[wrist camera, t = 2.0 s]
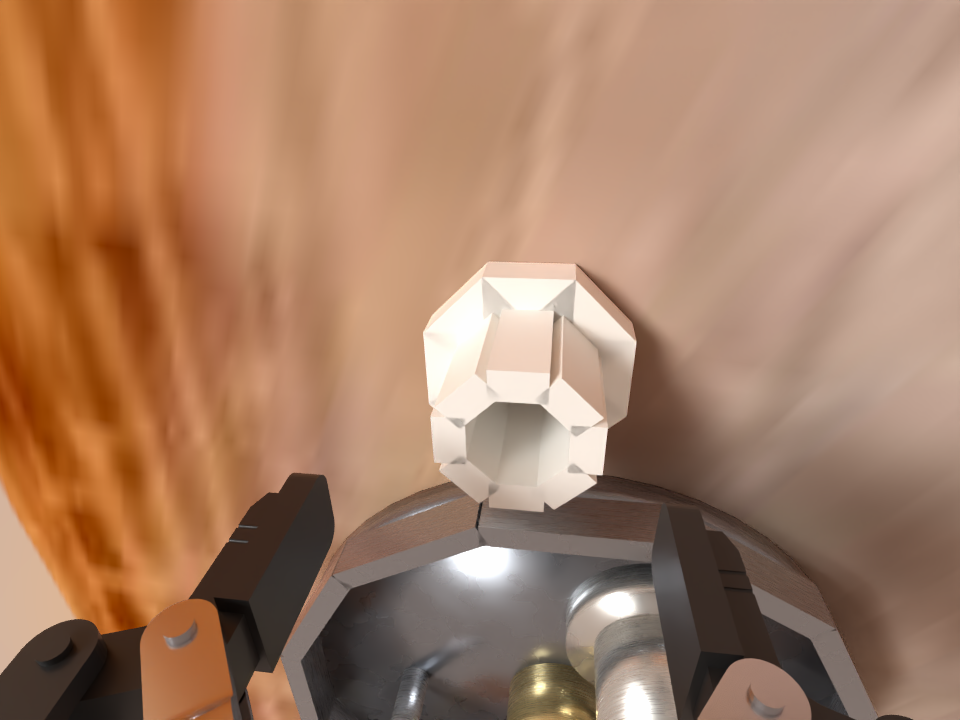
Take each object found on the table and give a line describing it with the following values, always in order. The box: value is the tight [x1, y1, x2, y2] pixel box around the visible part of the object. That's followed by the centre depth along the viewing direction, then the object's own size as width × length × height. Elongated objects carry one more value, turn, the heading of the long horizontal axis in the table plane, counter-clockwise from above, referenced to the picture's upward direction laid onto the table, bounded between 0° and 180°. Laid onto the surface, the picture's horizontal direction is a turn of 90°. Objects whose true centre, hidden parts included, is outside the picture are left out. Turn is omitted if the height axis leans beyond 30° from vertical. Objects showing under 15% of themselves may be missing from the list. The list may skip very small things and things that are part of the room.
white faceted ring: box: [423, 261, 637, 512], centre depth 18 cm, size 7×7×6 cm
